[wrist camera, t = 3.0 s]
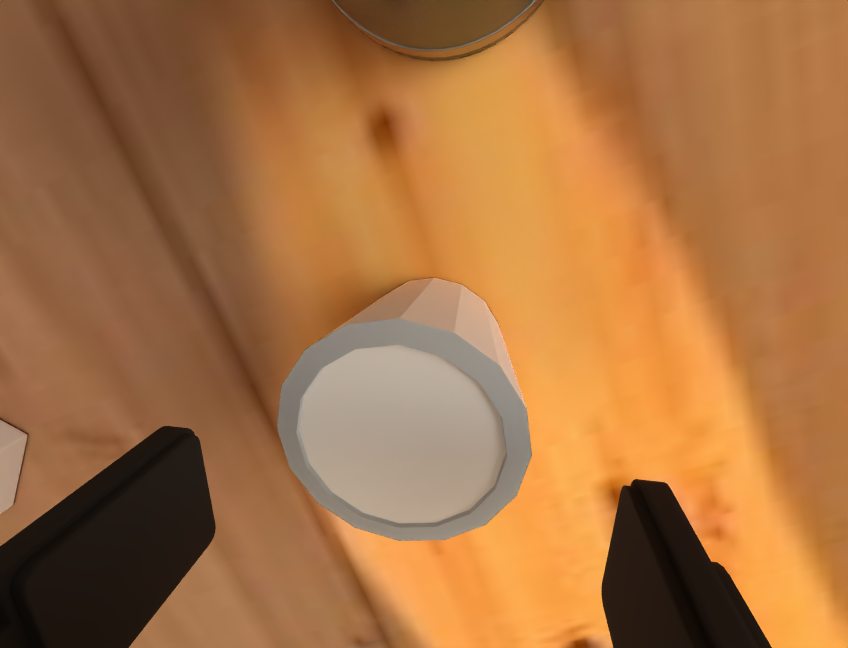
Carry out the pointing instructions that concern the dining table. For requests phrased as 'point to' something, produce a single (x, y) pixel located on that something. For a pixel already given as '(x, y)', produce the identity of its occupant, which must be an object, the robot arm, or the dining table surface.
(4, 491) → the milk
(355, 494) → the shot glass
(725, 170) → the dining table surface
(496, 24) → the green can
